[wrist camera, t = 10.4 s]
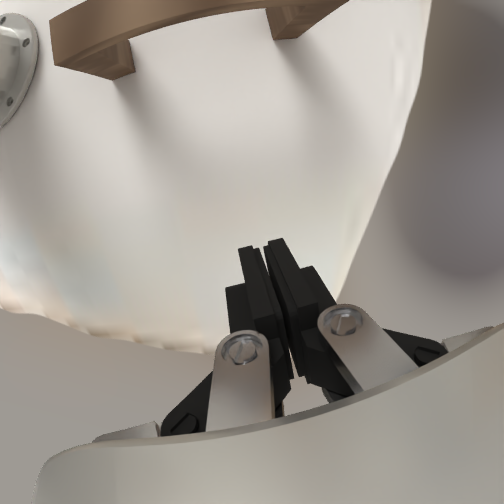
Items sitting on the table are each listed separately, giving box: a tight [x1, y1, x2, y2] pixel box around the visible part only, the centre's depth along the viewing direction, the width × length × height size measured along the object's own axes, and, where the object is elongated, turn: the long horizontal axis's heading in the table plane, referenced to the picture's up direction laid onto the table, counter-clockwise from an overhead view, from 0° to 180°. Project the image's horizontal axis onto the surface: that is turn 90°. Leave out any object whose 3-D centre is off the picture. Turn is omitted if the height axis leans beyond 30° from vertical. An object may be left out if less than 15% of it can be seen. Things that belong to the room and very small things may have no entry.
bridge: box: [49, 0, 349, 81], centre depth 13 cm, size 15×3×10 cm, turn 102°
